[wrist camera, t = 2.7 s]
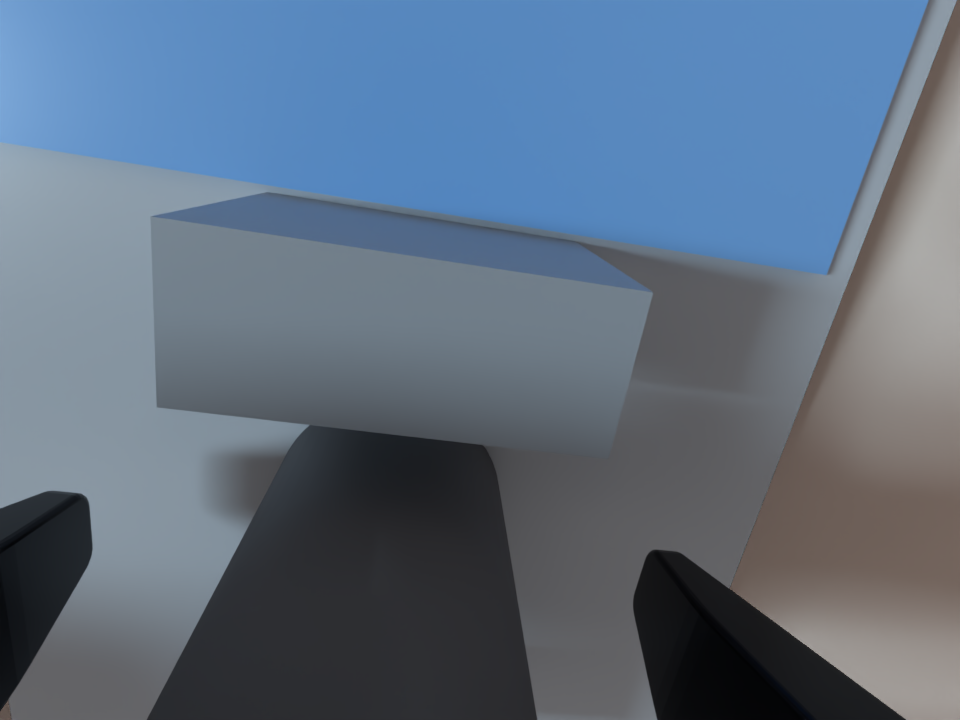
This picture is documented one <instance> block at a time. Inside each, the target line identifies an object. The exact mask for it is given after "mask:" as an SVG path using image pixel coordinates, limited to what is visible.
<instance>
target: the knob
mask: <svg viewBox="0 0 960 720" xmlns="http://www.w3.org/2000/svg"><path fill="white" fill-rule="evenodd" d="M147 720H537V715H536V709H535V703H534V697H533V691H532V685H531V679H530V672H529V666H528V660H527V654H526V648H525V642H524V636H523V630H522V624H521V618H520V611H519V605H518V599H517V593H516V587H515V581H514V575H513V569H512V563H511V557H510V551H509V544H508V538H507V532H506V526H505V520H504V514H503V508H502V502H501V496H500V490H499V484H498V478H497V473H496V470H495V467H494V464H493V461H492V459H491V457H490V456H489V454H488V452H487V450H486V448H485V447H484V446H483V445H479V444H470V443H462V442H453V441H444V440H436V439H427V438H418V437H409V436H401V435H392V434H383V433H375V432H366V431H357V430H349V429H340V428H331V427H323V426H314V425H309V426H308V427H307V428H306V429H305V430H304V431H303V432H302V433H301V434H300V435H299V436H298V437H297V439H296V440H295V441H294V443H293V444H292V446H291V447H290V449H289V450H288V452H287V454H286V456H285V458H284V460H283V462H282V463H281V465H280V467H279V469H278V471H277V473H276V475H275V477H274V479H273V481H272V482H271V484H270V486H269V488H268V490H267V492H266V494H265V496H264V498H263V500H262V501H261V503H260V505H259V507H258V509H257V511H256V513H255V515H254V517H253V519H252V520H251V522H250V524H249V526H248V528H247V530H246V532H245V534H244V536H243V538H242V539H241V541H240V543H239V545H238V547H237V549H236V551H235V553H234V555H233V557H232V558H231V560H230V562H229V564H228V566H227V568H226V570H225V572H224V574H223V576H222V577H221V579H220V581H219V583H218V585H217V587H216V589H215V591H214V593H213V595H212V596H211V598H210V600H209V602H208V604H207V606H206V608H205V610H204V612H203V613H202V615H201V617H200V619H199V621H198V623H197V625H196V627H195V629H194V631H193V632H192V634H191V636H190V638H189V640H188V642H187V644H186V646H185V648H184V650H183V651H182V653H181V655H180V657H179V659H178V661H177V663H176V665H175V667H174V669H173V670H172V672H171V674H170V676H169V678H168V680H167V682H166V684H165V686H164V688H163V689H162V691H161V693H160V695H159V697H158V699H157V701H156V703H155V705H154V707H153V708H152V710H151V712H150V714H149V716H148V718H147Z"/></svg>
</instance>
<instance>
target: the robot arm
mask: <svg viewBox="0 0 960 720" xmlns="http://www.w3.org/2000/svg"><path fill="white" fill-rule="evenodd" d="M92 550H93V542H92V530H91V518H90V506H89V501H88V499H87V497H86V496H84V495H83V494H81V493H74V492H64V491H46V492H43V493H40V494H37V495H35V496H32V497H29V498H26V499H24V500H21V501H18V502H16V503H13V504H10V505H8V506H5V507H2V508H0V711H1V709H2V708H3V707H4V705H5V704H6V702H7V701H8V699H9V698H10V696H11V695H12V693H13V692H14V691H15V689H16V688H17V686H18V685H19V683H20V681H21V680H22V678H23V677H24V675H25V673H26V672H27V670H28V668H29V667H30V665H31V664H32V662H33V660H34V658H35V657H36V655H37V653H38V651H39V650H40V648H41V646H42V645H43V643H44V641H45V639H46V638H47V636H48V634H49V632H50V631H51V629H52V627H53V626H54V624H55V622H56V620H57V619H58V617H59V615H60V614H61V612H62V610H63V608H64V607H65V605H66V603H67V601H68V600H69V598H70V596H71V595H72V593H73V591H74V589H75V588H76V586H77V584H78V583H79V581H80V579H81V577H82V576H83V574H84V572H85V570H86V569H87V567H88V565H89V562H90V560H91V556H92ZM633 612H634V617H635V622H636V627H637V631H638V636H639V640H640V645H641V650H642V654H643V659H644V663H645V668H646V673H647V677H648V682H649V686H650V691H651V696H652V700H653V705H654V709H655V713H656V717H657V720H906V719H904V718H903V717H902V716H900V715H899V714H898V713H896V712H895V711H894V710H892V709H891V708H890V707H888V706H887V705H886V704H884V703H883V702H881V701H880V700H879V699H877V698H876V697H875V696H873V695H872V694H871V693H869V692H868V691H867V690H865V689H864V688H863V687H861V686H860V685H859V684H857V683H856V682H854V681H853V680H852V679H850V678H849V677H848V676H846V675H845V674H844V673H842V672H841V671H840V670H838V669H837V668H836V667H834V666H833V665H832V664H830V663H829V662H827V661H826V660H825V659H823V658H822V657H821V656H819V655H818V654H817V653H815V652H814V651H813V650H811V649H810V648H809V647H807V646H806V645H805V644H803V643H802V642H800V641H799V640H798V639H796V638H795V637H794V636H792V635H791V634H790V633H788V632H787V631H786V630H784V629H783V628H782V627H780V626H779V625H778V624H776V623H775V622H773V621H772V620H771V619H769V618H768V617H767V616H765V615H764V614H763V613H761V612H760V611H759V610H757V609H756V608H755V607H753V606H752V605H751V604H749V603H748V602H747V601H745V600H744V599H742V598H741V597H740V596H738V595H737V594H736V593H734V592H733V591H732V590H730V589H729V588H728V587H726V586H725V585H724V584H722V583H721V582H720V581H718V580H717V579H716V578H714V577H713V576H711V575H710V574H709V573H707V572H706V571H705V570H703V569H702V568H701V567H699V566H698V565H697V564H695V563H694V562H693V561H691V560H690V559H689V558H687V557H686V556H684V555H683V554H682V553H680V552H677V551H668V550H658V549H654V550H652V551H650V552H649V553H648V554H647V556H646V558H645V561H644V564H643V567H642V570H641V574H640V577H639V580H638V583H637V586H636V589H635V593H634V597H633Z"/></svg>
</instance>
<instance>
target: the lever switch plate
mask: <svg viewBox="0 0 960 720" xmlns="http://www.w3.org/2000/svg"><path fill="white" fill-rule="evenodd" d="M956 1H957V0H0V508H2V507H5V506H8V505H10V504H13V503H16V502H18V501H21V500H24V499H26V498H29V497H32V496H35V495H37V494H40V493H43V492H46V491H64V492H74V493H81V494H83V495H84V496H86V497H87V499H88V501H89V506H90V518H91V530H92V542H93V550H92V556H91V560H90V562H89V565H88V567H87V569H86V570H85V572H84V574H83V576H82V577H81V579H80V581H79V583H78V584H77V586H76V588H75V589H74V591H73V593H72V595H71V596H70V598H69V600H68V601H67V603H66V605H65V607H64V608H63V610H62V612H61V614H60V615H59V617H58V619H57V620H56V622H55V624H54V626H53V627H52V629H51V631H50V632H49V634H48V636H47V638H46V639H45V641H44V643H43V645H42V646H41V648H40V650H39V651H38V653H37V655H36V657H35V658H34V660H33V662H32V664H31V665H30V667H29V668H28V670H27V672H26V673H25V675H24V677H23V678H22V680H21V681H20V683H19V685H18V686H17V688H16V689H15V691H14V692H13V693H12V695H11V696H10V698H9V699H8V700H9V706H10V712H11V718H12V720H147V718H148V716H149V714H150V712H151V710H152V708H153V707H154V705H155V703H156V701H157V699H158V697H159V695H160V693H161V691H162V689H163V688H164V686H165V684H166V682H167V680H168V678H169V676H170V674H171V672H172V670H173V669H174V667H175V665H176V663H177V661H178V659H179V657H180V655H181V653H182V651H183V650H184V648H185V646H186V644H187V642H188V640H189V638H190V636H191V634H192V632H193V631H194V629H195V627H196V625H197V623H198V621H199V619H200V617H201V615H202V613H203V612H204V610H205V608H206V606H207V604H208V602H209V600H210V598H211V596H212V595H213V593H214V591H215V589H216V587H217V585H218V583H219V581H220V579H221V577H222V576H223V574H224V572H225V570H226V568H227V566H228V564H229V562H230V560H231V558H232V557H233V555H234V553H235V551H236V549H237V547H238V545H239V543H240V541H241V539H242V538H243V536H244V534H245V532H246V530H247V528H248V526H249V524H250V522H251V520H252V519H253V517H254V515H255V513H256V511H257V509H258V507H259V505H260V503H261V501H262V500H263V498H264V496H265V494H266V492H267V490H268V488H269V486H270V484H271V482H272V481H273V479H274V477H275V475H276V473H277V471H278V469H279V467H280V465H281V463H282V462H283V460H284V458H285V456H286V454H287V452H288V450H289V449H290V447H291V446H292V444H293V443H294V441H295V440H296V439H297V437H298V436H299V435H300V434H301V433H302V432H303V431H304V430H305V429H306V428H307V427H308V426H309V425H314V426H323V427H331V428H340V429H349V430H357V431H366V432H375V433H383V434H392V435H401V436H409V437H418V438H427V439H436V440H444V441H453V442H462V443H470V444H479V445H483V446H484V447H485V448H486V450H487V452H488V454H489V456H490V457H491V459H492V461H493V464H494V467H495V470H496V473H497V478H498V484H499V490H500V496H501V502H502V508H503V514H504V520H505V526H506V532H507V538H508V544H509V551H510V557H511V563H512V569H513V575H514V581H515V587H516V593H517V599H518V605H519V611H520V618H521V624H522V630H523V636H524V642H525V648H526V654H527V660H528V666H529V672H530V679H531V685H532V691H533V697H534V703H535V709H536V715H537V720H657V717H656V713H655V709H654V705H653V700H652V696H651V691H650V686H649V682H648V677H647V673H646V668H645V663H644V659H643V654H642V650H641V645H640V640H639V636H638V631H637V627H636V622H635V617H634V612H633V597H634V593H635V589H636V586H637V583H638V580H639V577H640V574H641V570H642V567H643V564H644V561H645V558H646V556H647V554H648V553H649V552H650V551H652V550H654V549H658V550H668V551H677V552H680V553H682V554H683V555H684V556H686V557H687V558H689V559H690V560H691V561H693V562H694V563H695V564H697V565H698V566H699V567H701V568H702V569H703V570H705V571H706V572H707V573H709V574H710V575H711V576H713V577H714V578H716V579H717V580H718V581H720V582H721V583H722V584H724V585H725V586H726V587H728V588H729V589H730V586H731V584H732V581H733V578H734V576H735V573H736V571H737V568H738V565H739V563H740V560H741V558H742V555H743V553H744V550H745V547H746V545H747V542H748V540H749V537H750V534H751V532H752V529H753V527H754V524H755V521H756V519H757V516H758V514H759V511H760V509H761V506H762V503H763V501H764V498H765V496H766V493H767V490H768V488H769V485H770V483H771V480H772V477H773V475H774V472H775V470H776V467H777V465H778V462H779V459H780V457H781V454H782V452H783V449H784V446H785V444H786V441H787V439H788V436H789V433H790V431H791V428H792V426H793V423H794V421H795V418H796V415H797V413H798V410H799V408H800V405H801V402H802V400H803V397H804V395H805V392H806V389H807V387H808V384H809V382H810V379H811V377H812V374H813V371H814V369H815V366H816V364H817V361H818V358H819V356H820V353H821V351H822V348H823V346H824V343H825V340H826V338H827V335H828V333H829V330H830V327H831V325H832V322H833V320H834V317H835V314H836V312H837V309H838V307H839V304H840V302H841V299H842V296H843V294H844V291H845V289H846V286H847V283H848V281H849V278H850V276H851V273H852V270H853V268H854V265H855V263H856V260H857V258H858V255H859V252H860V250H861V247H862V245H863V242H864V239H865V237H866V234H867V232H868V229H869V226H870V224H871V221H872V219H873V216H874V214H875V211H876V208H877V206H878V203H879V201H880V198H881V195H882V193H883V190H884V188H885V185H886V182H887V180H888V177H889V175H890V172H891V170H892V167H893V164H894V162H895V159H896V157H897V154H898V151H899V149H900V146H901V144H902V141H903V138H904V136H905V133H906V131H907V128H908V126H909V123H910V120H911V118H912V115H913V113H914V110H915V107H916V105H917V102H918V100H919V97H920V94H921V92H922V89H923V87H924V84H925V82H926V79H927V76H928V74H929V71H930V69H931V66H932V63H933V61H934V58H935V56H936V53H937V50H938V48H939V45H940V43H941V40H942V38H943V35H944V32H945V30H946V27H947V25H948V22H949V19H950V17H951V14H952V12H953V9H954V6H955V4H956Z"/></svg>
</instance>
